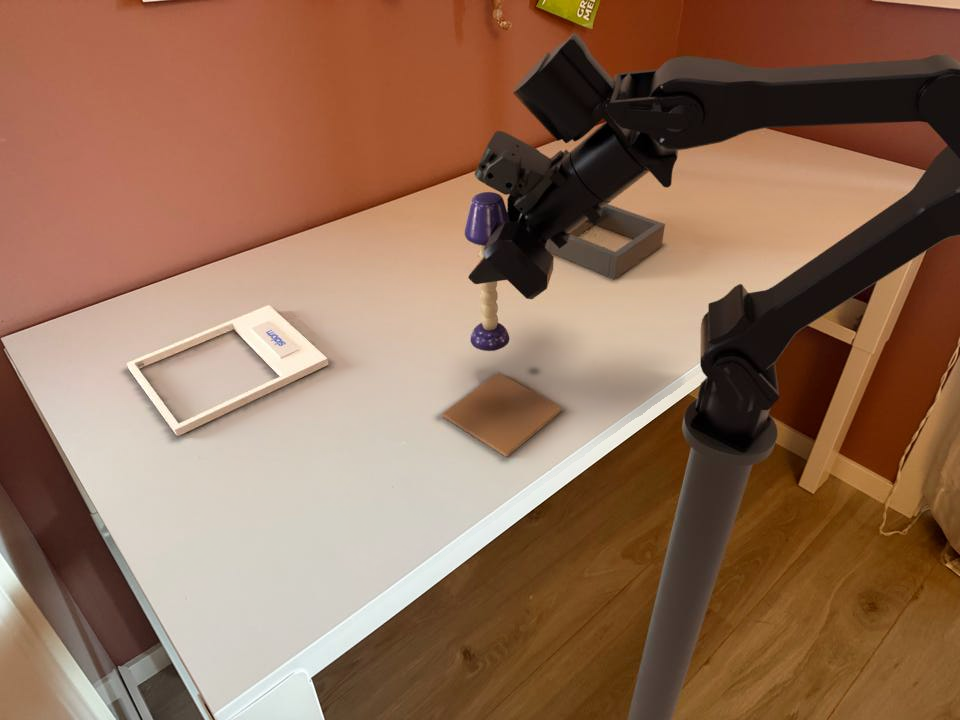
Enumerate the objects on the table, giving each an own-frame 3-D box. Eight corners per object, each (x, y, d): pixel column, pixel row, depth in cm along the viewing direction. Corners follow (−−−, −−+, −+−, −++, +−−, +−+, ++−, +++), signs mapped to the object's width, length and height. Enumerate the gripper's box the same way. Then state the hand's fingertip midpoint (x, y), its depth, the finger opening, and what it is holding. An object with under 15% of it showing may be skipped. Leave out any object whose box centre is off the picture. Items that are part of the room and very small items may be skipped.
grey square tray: (661, 245, 103) (665, 223, 101) (614, 279, 96) (617, 256, 94) (593, 220, 110) (595, 199, 108) (544, 250, 103) (545, 228, 101)
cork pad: (561, 411, 76) (561, 407, 76) (506, 457, 71) (506, 454, 71) (498, 375, 81) (498, 372, 81) (442, 416, 76) (442, 413, 76)
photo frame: (327, 357, 82) (174, 428, 74) (328, 364, 83) (177, 436, 74) (268, 303, 91) (125, 361, 82) (270, 310, 92) (129, 369, 83)
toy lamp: (467, 328, 80) (459, 189, 69) (507, 323, 80) (506, 184, 70) (474, 354, 76) (467, 212, 66) (516, 348, 77) (516, 206, 66)
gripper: (548, 75, 69) (445, 175, 78) (506, 150, 55) (387, 261, 64) (623, 159, 72) (516, 245, 81) (602, 250, 58) (475, 343, 67)
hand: (476, 269), depth 73 cm, fingers closed on toy lamp, 4 cm apart
